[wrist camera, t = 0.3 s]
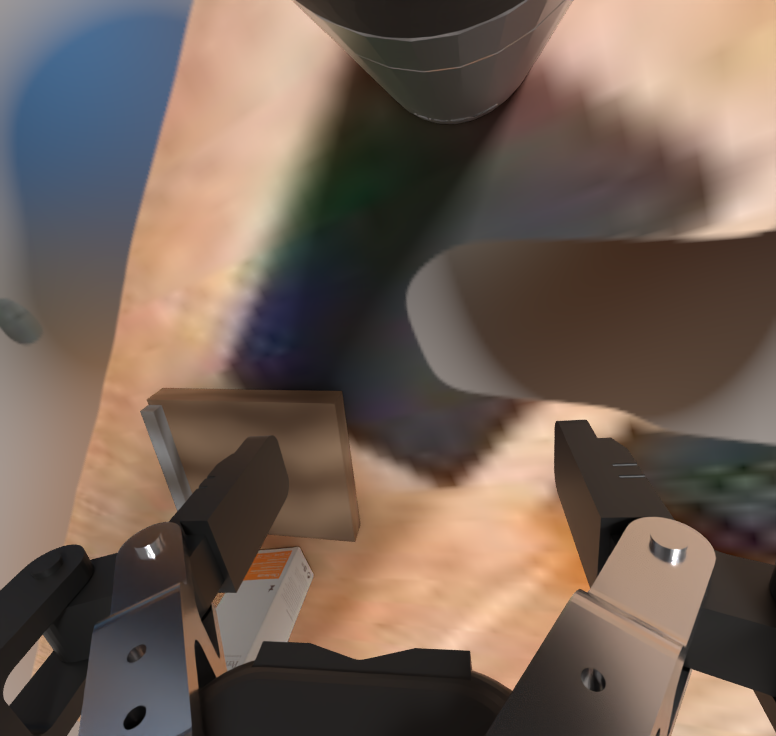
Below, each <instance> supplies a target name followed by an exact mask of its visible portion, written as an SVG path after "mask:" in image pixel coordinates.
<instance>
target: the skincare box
mask: <svg viewBox="0 0 776 736" xmlns="http://www.w3.org/2000/svg"><path fill="white" fill-rule="evenodd" d="M313 576H314V575H313V572H312V570H311V568H310V566H309V565H308V563H307V561H306V559H305V557H304V555H303V553H302V551H301V549H300V547H292V548H282V549H271V550H259V551H258V553H257V555H256V557H255V559H254V561H253V563H252V565H251V567H250V568H249V570H248V572H247V574H246V576H245V578H244V580H243V582H242V584H241V586H240V587H239V589H238V591H237V593H225V594H224V596H223V597H222V599H221V601H220V602H219V604H218V606H217V608H216V612H217V617H218V623H219V628H220V634H221V639H222V645H223V650H224V656H225V662H226V667H227V671H229V670H231V669H233V668H235V667H237V666H239V665H242V664H245V663H247V662H250V661H254V660H255V659H256V657H257V654H258V652H259V650H260V647H261V645H262V642H263V641H273V642H288V639H289V637H290V634H291V632H292V629H293V627H294V624H295V622H296V619H297V617H298V614H299V612H300V609H301V607H302V604H303V602H304V599H305V597H306V594H307V592H308V589H309V587H310V584H311V582H312V579H313Z"/></svg>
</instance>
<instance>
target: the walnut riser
mask: <svg viewBox="0 0 776 736" xmlns="http://www.w3.org/2000/svg"><path fill="white" fill-rule="evenodd" d="M147 401H148V404H149V405H148V406H147V407H145V408H144V409H143V410H141V411H140V412H141V415H142V417H143V420H144V423H145V425H146V428H147V431H148V433H149V436H150V439H151V442H152V444H153V447H154V450H155V452H156V455H157V458H158V460H159V463H160V466H161V468H162V471H163V474H164V476H165V479H166V482H167V484H168V487H169V490H170V492H171V495H172V498H173V500H174V503H175V506H176V508H177V511H178V510H179V509H180V508H181V507H182V505H183V504H184V503H185V502H186V501H187V500H188V498H189V497H190V496H191V495H192V494H193V492H194V491H195V490H196V489H199V485H200V484H201V483H202V482H203V480H204V479H207V476H208V475H209V473H210V472H211V471H212V470H213V469H214V467H215V466H216V465H217V464H218V463H220V462H221V461H222V460H224V459H225V458H227V457H228V456H229V455H231V454H234V453H235V452H236V450H237V449H238V448H239V447H240V445H241V444H242V443H243V442H244V441H245V439H246V438H247V437H250V436H268V435H273V436H275V437H276V439H277V440H278V443H279V447H280V450H281V454H282V457H283V460H284V464H285V467H286V471H287V474H288V478H289V491H288V496H287V498H286V500H285V502H284V504H283V506H282V508H281V510H280V512H279V514H278V515H277V517H276V519H275V521H274V523H273V525H272V527H271V529H270V531H269V532H268V534H270V535H281V536H293V537H305V538H316V539H328V540H339V541H351V542H355V541H356V537H357V534H358V531H359V528H360V518H359V511H358V504H357V497H356V489H355V482H354V475H353V467H352V460H351V453H350V446H349V438H348V431H347V424H346V417H345V409H344V402H343V395H342V391H308V390H243V389H179V388H163V389H161V390H160V391H158V392H157V393H156V394H154V395H153V396H151V397H150V398H148V399H147Z"/></svg>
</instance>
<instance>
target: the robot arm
mask: <svg viewBox="0 0 776 736" xmlns="http://www.w3.org/2000/svg"><path fill="white" fill-rule="evenodd" d="M292 1H293V2H294V3H295V4H296V5H297V6H298V7H299V8H300V9H301V10H302V11H303V12H304V13H306V14H307V15H308V16H309V17H310V18H311V19H312V20H313V21H314V22H315V23H316V24H317V25H318V26H319V27H320V28H321V29H322V30H323V31H324V32H325V33H327V34H328V35H329V36H330V37H331V38H332V39H333V40H334V41H335V42H336V43H337V44H338V45H339V46H340V47H341V48H342V49H343V50H344V51H345V52H346V53H347V54H349V55H350V56H351V57H352V58H353V59H354V60H355V61H356V62H357V63H358V64H359V65H360V66H361V67H362V68H363V69H364V70H365V71H366V72H367V73H368V74H369V75H370V76H371V77H372V78H373V79H374V80H375V81H376V82H377V83H378V84H379V85H380V86H382V87H383V88H384V89H385V90H386V91H387V92H388V93H389V94H390V95H391V96H392V97H393V98H394V99H395V100H396V101H397V102H398V103H399V104H401V105H402V106H403V107H404V108H405V109H406V110H407V111H409V112H410V113H412V114H414V115H416V116H418V117H419V118H421V119H423V120H427V121H431V122H434V123H438V124H459V123H463V122H467V121H472V120H475V119H477V118H479V117H481V116H483V115H485V114H488V113H490V112H491V111H493V110H494V109H495V108H497V107H498V106H499V105H501V104H502V103H503V102H505V101H506V100H507V99H508V98H509V97H510V96H511V95H512V93H513V92H514V91H515V90H516V89H517V88H518V87H519V86H520V85H521V83H522V82H523V80H524V78H525V77H526V75H527V74H528V72H529V71H530V69H531V67H532V66H533V64H534V63H535V62H536V60H537V59H538V57H539V56H540V54H541V52H542V51H543V49H544V47H545V46H546V44H547V42H548V41H549V39H550V38H551V36H552V34H553V33H554V31H555V29H556V28H557V26H558V24H559V23H560V21H561V20H562V18H563V16H564V15H565V13H566V11H567V10H568V8H569V6H570V5H571V3H572V2H573V0H292ZM554 473H555V482H556V488H557V492H558V495H559V498H560V501H561V504H562V507H563V510H564V513H565V516H566V519H567V522H568V524H569V527H570V530H571V533H572V536H573V539H574V542H575V545H576V548H577V551H578V554H579V557H580V560H581V563H582V566H583V568H584V571H585V574H586V577H587V580H588V583H589V586H590V590H589V591H588V592H585V591H583V590H581V589H579V590H577V591H576V592H575V593H574V594H573V595H572V597H571V598H570V600H569V601H568V603H567V604H566V606H565V608H564V609H563V611H562V612H561V614H560V616H559V617H558V619H557V620H556V622H555V624H554V625H553V627H552V629H551V630H550V632H549V633H548V635H547V637H546V638H545V640H544V641H543V643H542V645H541V646H540V648H539V649H538V651H537V653H536V654H535V656H534V657H533V659H532V661H531V662H530V664H529V665H528V667H527V669H526V670H525V672H524V673H523V675H522V677H521V678H520V680H519V682H518V683H517V685H516V686H515V688H514V690H513V691H511V690H510V689H509V688H507V687H505V686H504V685H502V684H501V683H499V682H498V681H496V680H494V679H492V678H490V677H488V676H486V675H483V674H481V673H478V672H475V671H472V665H471V656H470V651H463V650H442V649H421V648H414V649H410V650H405V651H401V652H396V653H392V654H387V655H383V656H378V657H374V658H369V659H364V660H356V659H352V658H350V657H347V656H344V655H341V654H339V653H336V652H333V651H330V650H327V649H325V648H322V647H319V646H316V645H314V644H311V643H294V642H273V641H263V642H262V645H261V647H260V650H259V652H258V654H257V657H256V659H255V660H254V661H250V662H247V663H245V664H242V665H239V666H237V667H235V668H233V669H231V670H229V671H227V667H226V662H225V656H224V650H223V645H222V639H221V634H220V628H219V623H218V617H217V612H216V608H215V605H214V603H213V600H214V598H215V596H216V595H217V593H237V591H238V589H239V587H240V586H241V584H242V582H243V580H244V578H245V576H246V574H247V572H248V570H249V568H250V567H251V565H252V563H253V561H254V559H255V557H256V555H257V553H258V551H259V550H260V548H261V546H262V544H263V542H264V540H265V538H266V536H267V534H268V532H269V531H270V529H271V527H272V525H273V523H274V521H275V519H276V517H277V515H278V514H279V512H280V510H281V508H282V506H283V504H284V502H285V500H286V498H287V496H288V491H289V478H288V474H287V471H286V467H285V464H284V460H283V457H282V454H281V450H280V447H279V443H278V440H277V439H276V437H275V436H273V435H268V436H250V437H247V438H246V439H245V441H244V442H243V443H242V444H241V445H240V447H239V448H238V449H237V450H236V452H235V453H234V454H231V455H229V456H228V457H227V458H225V459H224V460H222V461H221V462H220V463H218V464H217V465H216V466H215V467H214V469H213V470H212V471H211V472H210V473H209V475H208V476H207V479H204V480H203V482H202V483H201V484H200V485H199V489H196V490H195V491H194V492H193V494H192V495H191V496H190V497H189V498H188V500H187V501H186V502H185V503H184V504H183V505H182V507H181V508H180V509H179V510H178V511H177V513H176V514H175V515H174V516H173V517H172V519H171V520H170V521H169V522H163V523H158V524H154V525H152V526H149V527H147V528H145V529H143V530H141V531H139V532H138V533H136V534H135V535H133V536H132V537H131V538H130V539H128V540H127V541H126V542H125V543H124V544H123V546H122V547H121V548H120V550H119V551H118V553H115V554H112V555H108V556H104V557H100V558H96V559H92V560H90V559H89V557H88V555H87V554H86V552H85V550H84V548H83V547H82V546H80V545H67V546H62V547H59V548H56V549H54V550H52V551H49V552H48V553H45V554H44V555H42V556H40V557H39V558H37V559H35V560H34V561H32V562H31V563H30V564H28V565H27V566H26V567H25V568H24V569H23V570H22V571H20V573H18V574H17V575H16V576H15V577H14V578H13V579H12V580H11V581H10V582H9V583H8V584H7V585H6V586H5V587H4V588H3V589H2V590H0V736H67V735H68V733H69V732H70V730H71V728H72V727H73V726H74V724H75V723H76V721H77V720H78V718H79V717H80V715H81V720H80V727H79V734H78V736H671V734H672V731H673V728H674V725H675V722H676V719H677V716H678V712H679V709H680V706H681V703H682V700H683V697H684V694H685V691H686V688H687V684H688V681H689V678H690V675H691V672H692V669H693V670H696V671H699V672H702V673H705V674H708V675H711V676H714V677H717V678H720V679H723V680H726V681H729V682H732V683H735V684H738V685H741V686H744V687H747V688H750V689H753V690H754V692H755V694H756V696H757V698H758V700H759V702H760V704H761V705H762V707H763V709H764V711H765V713H766V715H767V717H768V719H769V721H770V722H771V724H772V726H773V728H774V730H775V732H776V562H775V565H772V564H767V563H763V562H758V561H754V560H749V559H745V558H740V557H736V556H732V555H728V554H724V553H721V552H718V551H716V550H714V549H713V547H712V546H711V544H710V543H709V542H708V541H707V540H706V538H705V537H703V536H702V535H701V534H700V533H699V532H697V531H696V530H694V529H693V528H691V527H689V526H687V525H685V524H683V523H680V522H678V521H675V520H674V519H673V517H672V516H671V514H670V512H669V511H668V509H667V508H666V506H665V505H664V503H663V502H662V500H661V499H660V497H659V496H658V494H657V493H656V491H655V490H654V488H653V487H652V485H651V484H650V482H649V481H648V479H647V478H645V476H644V473H643V472H642V470H641V469H640V467H639V466H637V463H636V461H635V460H634V458H633V456H632V455H631V453H630V452H629V450H628V449H627V448H625V447H624V446H622V445H621V444H619V443H618V442H617V441H615V440H614V439H612V438H597V437H596V435H595V433H594V431H593V430H592V428H591V426H590V424H589V423H588V421H587V420H570V421H556V423H555V444H554ZM42 635H44V637H45V638H46V640H47V641H48V643H49V644H50V645H51V647H52V648H53V650H54V651H53V652H52V653H51V655H50V656H49V657H48V658H47V660H46V661H45V662H44V663H43V665H42V666H41V667H40V668H39V670H38V671H37V672H36V673H35V674H34V676H33V677H32V678H31V679H30V681H29V682H28V683H27V684H26V686H25V687H24V688H23V689H22V691H21V692H20V693H19V694H18V696H17V697H16V698H15V700H14V701H13V702H12V703H11V704H10V706H8V704H7V703H6V702H5V700H4V698H3V688H4V685H5V682H6V679H7V678H8V675H9V674H10V672H11V671H12V670H13V669H14V667H15V666H16V665H17V664H18V663H19V661H20V660H21V659H22V658H23V657H24V656H25V654H26V653H27V652H28V651H29V650H30V649H31V647H32V646H33V645H34V644H35V642H37V640H38V639H39V638H40V637H41V636H42Z"/></svg>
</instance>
